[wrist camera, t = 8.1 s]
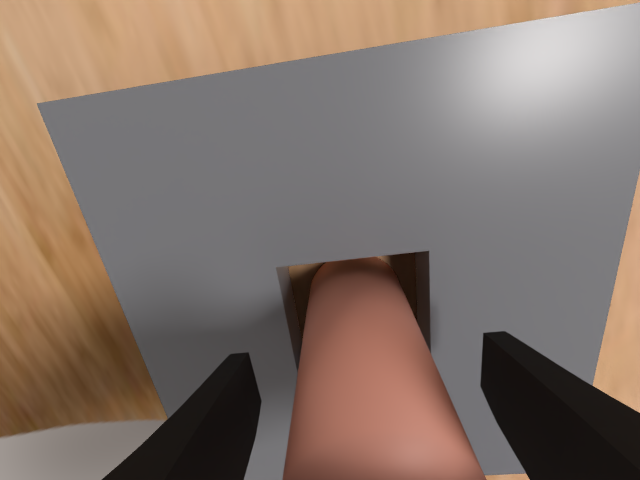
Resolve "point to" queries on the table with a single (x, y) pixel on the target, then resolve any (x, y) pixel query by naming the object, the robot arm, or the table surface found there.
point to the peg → (370, 387)
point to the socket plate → (369, 202)
